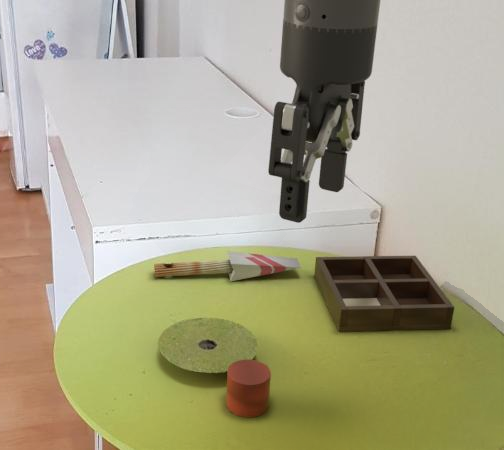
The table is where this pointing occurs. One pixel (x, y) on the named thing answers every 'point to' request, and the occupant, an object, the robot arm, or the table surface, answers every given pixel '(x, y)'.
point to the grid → (382, 293)
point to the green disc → (207, 344)
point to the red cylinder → (248, 388)
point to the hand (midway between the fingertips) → (312, 203)
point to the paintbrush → (230, 266)
